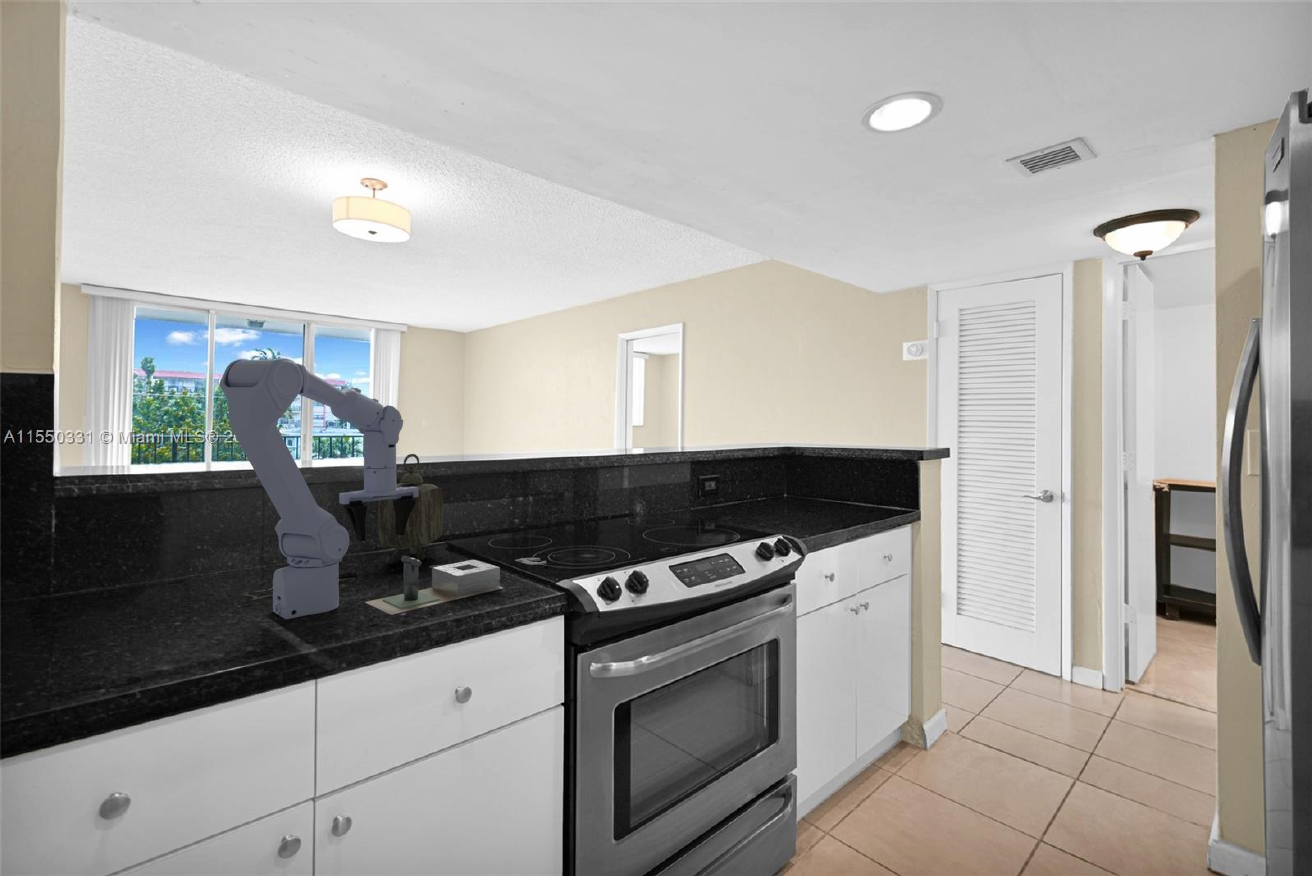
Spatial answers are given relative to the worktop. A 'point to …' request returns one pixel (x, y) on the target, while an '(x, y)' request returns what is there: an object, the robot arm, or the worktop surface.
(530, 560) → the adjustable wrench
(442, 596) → the board
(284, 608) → the robot arm
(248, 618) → the worktop surface
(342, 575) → the hacksaw
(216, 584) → the worktop surface
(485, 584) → the block
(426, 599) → the mat
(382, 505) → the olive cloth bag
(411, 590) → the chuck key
